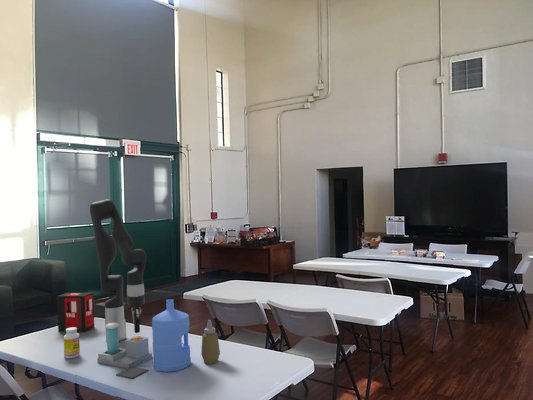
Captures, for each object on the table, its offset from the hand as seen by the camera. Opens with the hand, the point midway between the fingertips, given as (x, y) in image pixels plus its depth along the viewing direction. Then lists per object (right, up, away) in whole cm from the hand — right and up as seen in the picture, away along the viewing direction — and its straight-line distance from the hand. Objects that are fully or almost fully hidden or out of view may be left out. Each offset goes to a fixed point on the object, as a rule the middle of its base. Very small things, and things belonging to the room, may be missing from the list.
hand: (137, 332), depth 195 cm
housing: (-5, -12, -1) cm, 13 cm away
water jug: (+18, -12, -10) cm, 23 cm away
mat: (+3, -12, -16) cm, 20 cm away
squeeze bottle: (+34, -11, -7) cm, 36 cm away
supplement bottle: (-32, -13, +7) cm, 36 cm away
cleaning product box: (-50, -14, +51) cm, 73 cm away
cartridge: (-10, -10, -1) cm, 15 cm away
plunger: (0, -7, 0) cm, 7 cm away
